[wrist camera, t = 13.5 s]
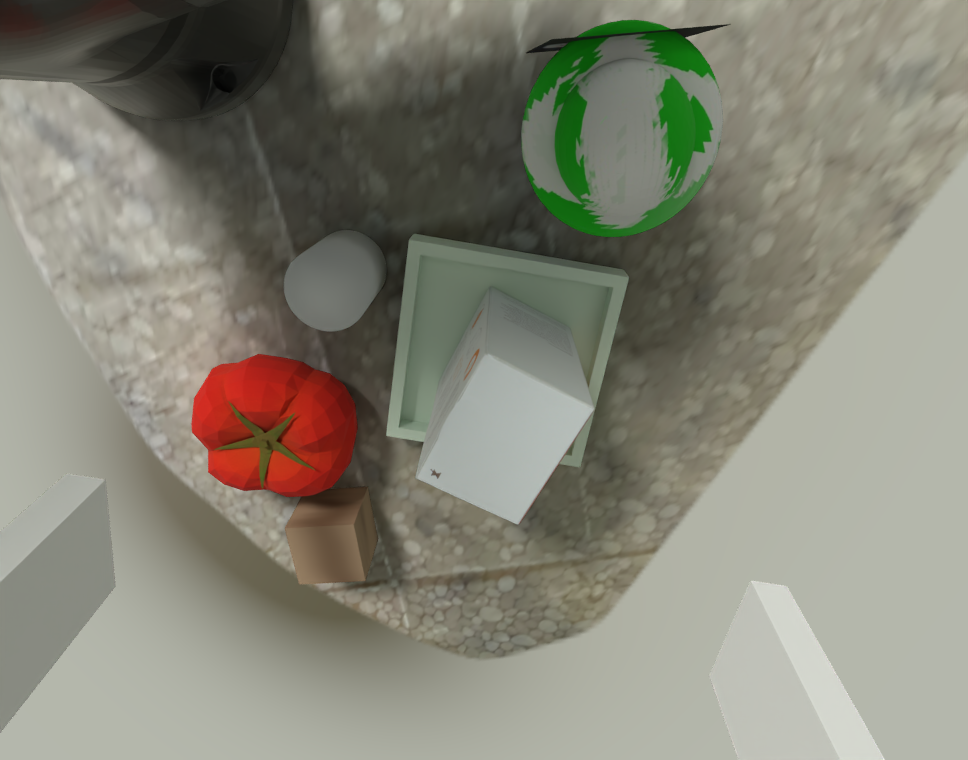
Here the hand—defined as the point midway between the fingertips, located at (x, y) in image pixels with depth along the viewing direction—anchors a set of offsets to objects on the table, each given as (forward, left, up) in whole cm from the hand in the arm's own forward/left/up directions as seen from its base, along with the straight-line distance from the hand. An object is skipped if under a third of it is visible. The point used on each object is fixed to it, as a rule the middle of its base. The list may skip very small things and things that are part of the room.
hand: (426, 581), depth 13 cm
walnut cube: (-8, -22, -32) cm, 40 cm away
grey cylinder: (-9, -2, -32) cm, 33 cm away
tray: (+2, -6, -32) cm, 32 cm away
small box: (+2, -6, -31) cm, 32 cm away
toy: (+5, +9, -32) cm, 33 cm away
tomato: (-12, -13, -32) cm, 37 cm away
